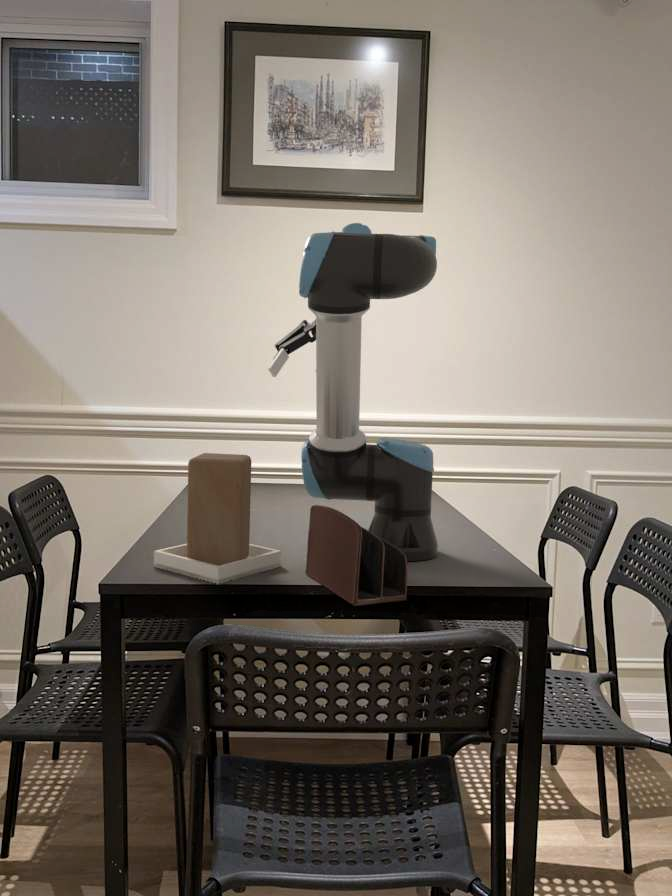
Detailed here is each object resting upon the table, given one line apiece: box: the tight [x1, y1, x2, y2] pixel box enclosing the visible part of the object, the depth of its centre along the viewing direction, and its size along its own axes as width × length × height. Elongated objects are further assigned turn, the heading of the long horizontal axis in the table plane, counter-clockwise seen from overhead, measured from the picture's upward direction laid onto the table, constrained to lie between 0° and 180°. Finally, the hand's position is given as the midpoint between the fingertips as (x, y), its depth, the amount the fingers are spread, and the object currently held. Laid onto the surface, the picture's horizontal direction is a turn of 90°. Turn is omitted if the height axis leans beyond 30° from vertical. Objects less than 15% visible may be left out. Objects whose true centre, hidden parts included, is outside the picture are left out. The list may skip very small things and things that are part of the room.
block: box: [186, 452, 252, 566], centre depth 147 cm, size 10×10×20 cm
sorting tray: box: [153, 543, 282, 585], centre depth 149 cm, size 17×17×3 cm
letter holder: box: [305, 504, 408, 607], centre depth 138 cm, size 10×20×14 cm, turn 26°
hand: (294, 374), depth 175 cm, fingers open, 13 cm apart
